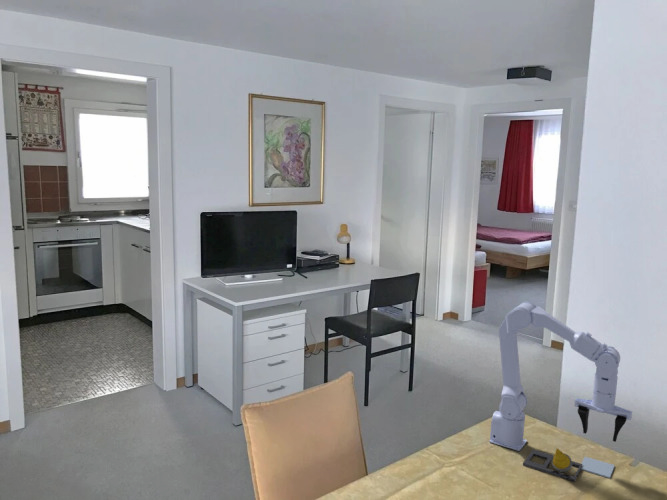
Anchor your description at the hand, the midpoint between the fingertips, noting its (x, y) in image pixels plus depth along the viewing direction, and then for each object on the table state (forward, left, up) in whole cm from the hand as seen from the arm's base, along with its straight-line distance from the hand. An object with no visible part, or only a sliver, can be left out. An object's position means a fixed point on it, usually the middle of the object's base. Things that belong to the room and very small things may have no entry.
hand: (599, 436), depth 159 cm
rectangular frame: (-10, -7, -10) cm, 16 cm away
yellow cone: (-7, -7, -10) cm, 14 cm away
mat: (0, 0, -10) cm, 10 cm away
